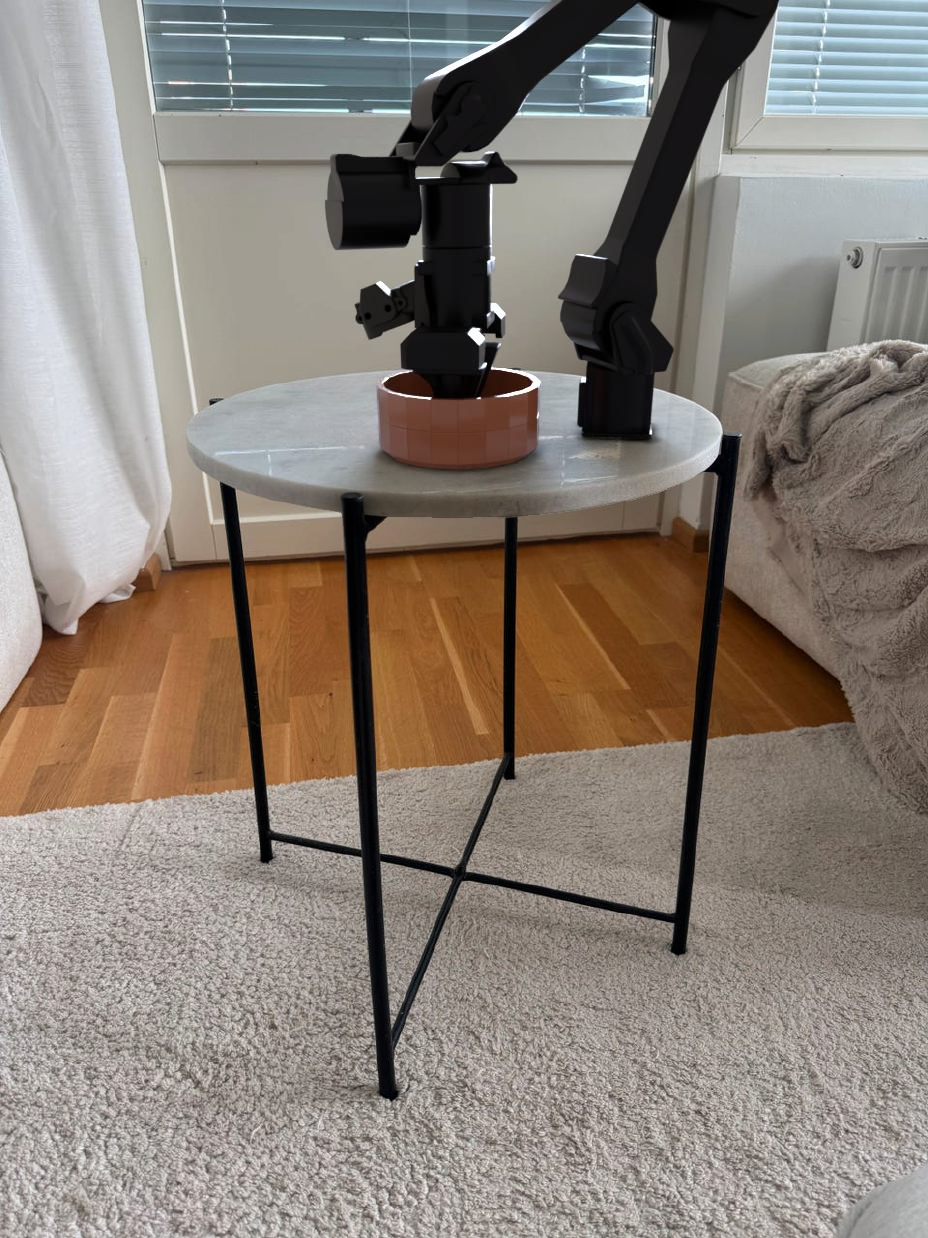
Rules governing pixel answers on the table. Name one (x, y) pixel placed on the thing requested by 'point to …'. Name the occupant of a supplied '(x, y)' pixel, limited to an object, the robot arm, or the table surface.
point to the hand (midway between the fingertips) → (458, 433)
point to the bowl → (459, 421)
